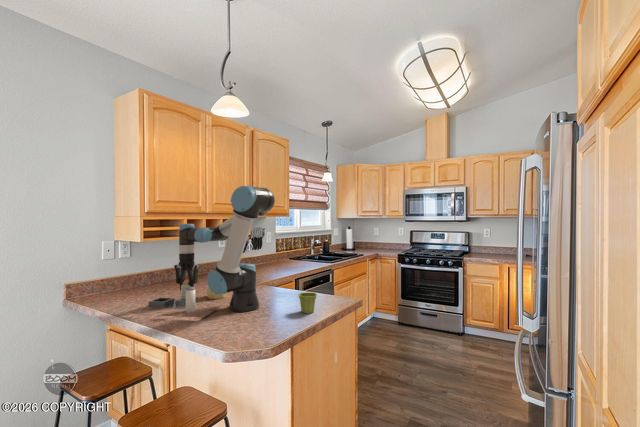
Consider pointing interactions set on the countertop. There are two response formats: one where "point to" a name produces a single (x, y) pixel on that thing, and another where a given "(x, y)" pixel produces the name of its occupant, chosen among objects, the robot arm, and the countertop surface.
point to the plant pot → (307, 301)
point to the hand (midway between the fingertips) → (186, 296)
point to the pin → (184, 289)
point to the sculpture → (215, 295)
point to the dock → (169, 303)
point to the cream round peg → (190, 299)
